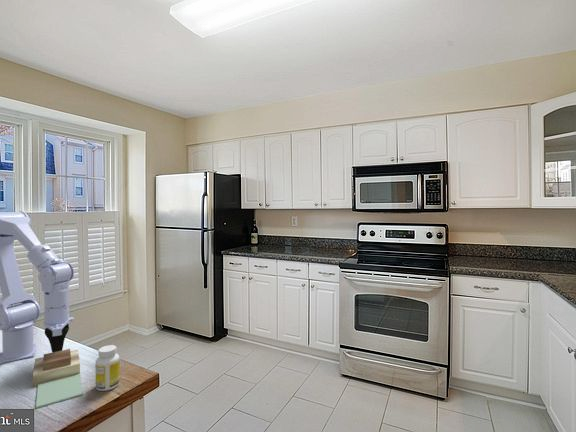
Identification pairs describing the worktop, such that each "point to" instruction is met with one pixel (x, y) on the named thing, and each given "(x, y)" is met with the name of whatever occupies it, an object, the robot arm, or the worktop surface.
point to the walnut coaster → (56, 359)
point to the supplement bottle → (107, 368)
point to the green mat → (58, 390)
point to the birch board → (55, 370)
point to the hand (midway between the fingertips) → (57, 351)
